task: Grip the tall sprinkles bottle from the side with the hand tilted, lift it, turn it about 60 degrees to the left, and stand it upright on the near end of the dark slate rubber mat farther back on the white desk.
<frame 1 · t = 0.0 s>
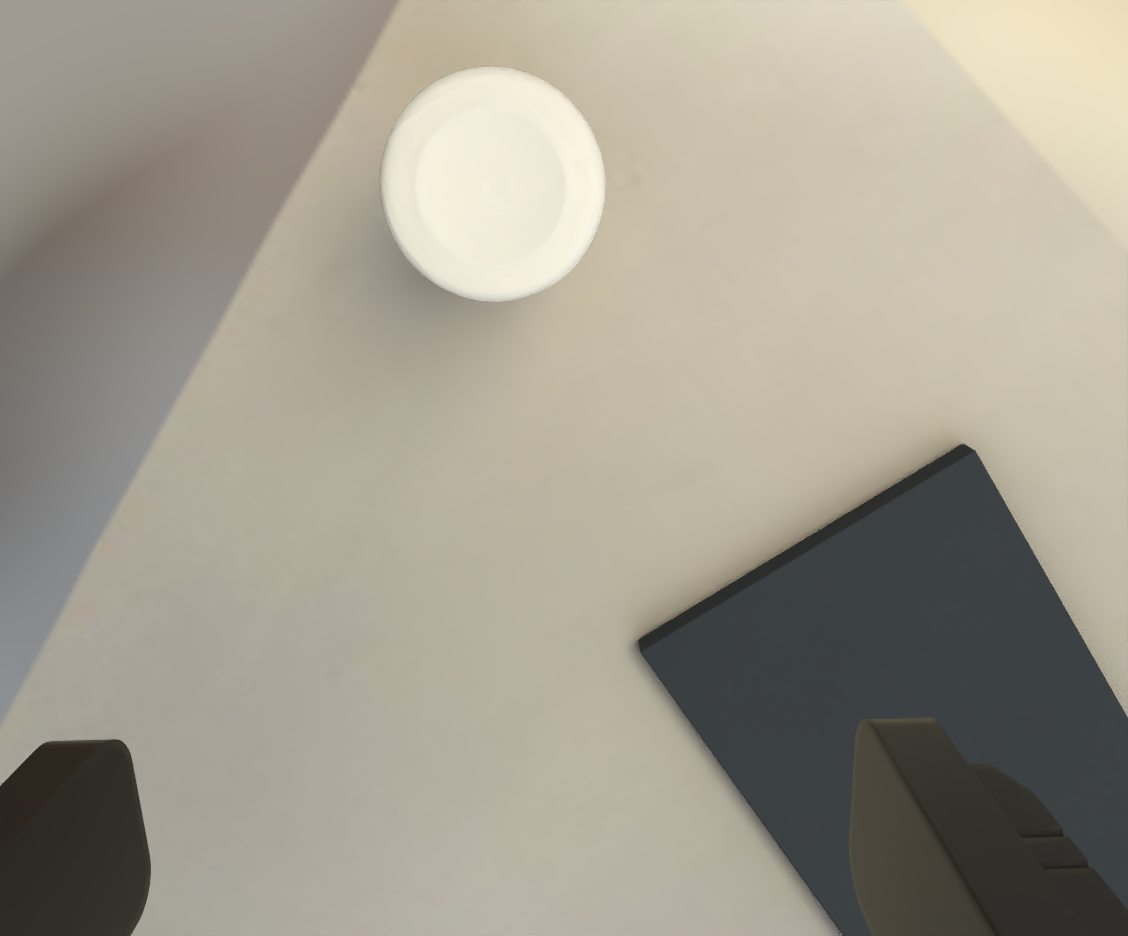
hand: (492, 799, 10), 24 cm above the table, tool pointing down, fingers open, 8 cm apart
sprinkles bottle: (522, 196, 31), on the table
mat: (945, 776, 37), on the table
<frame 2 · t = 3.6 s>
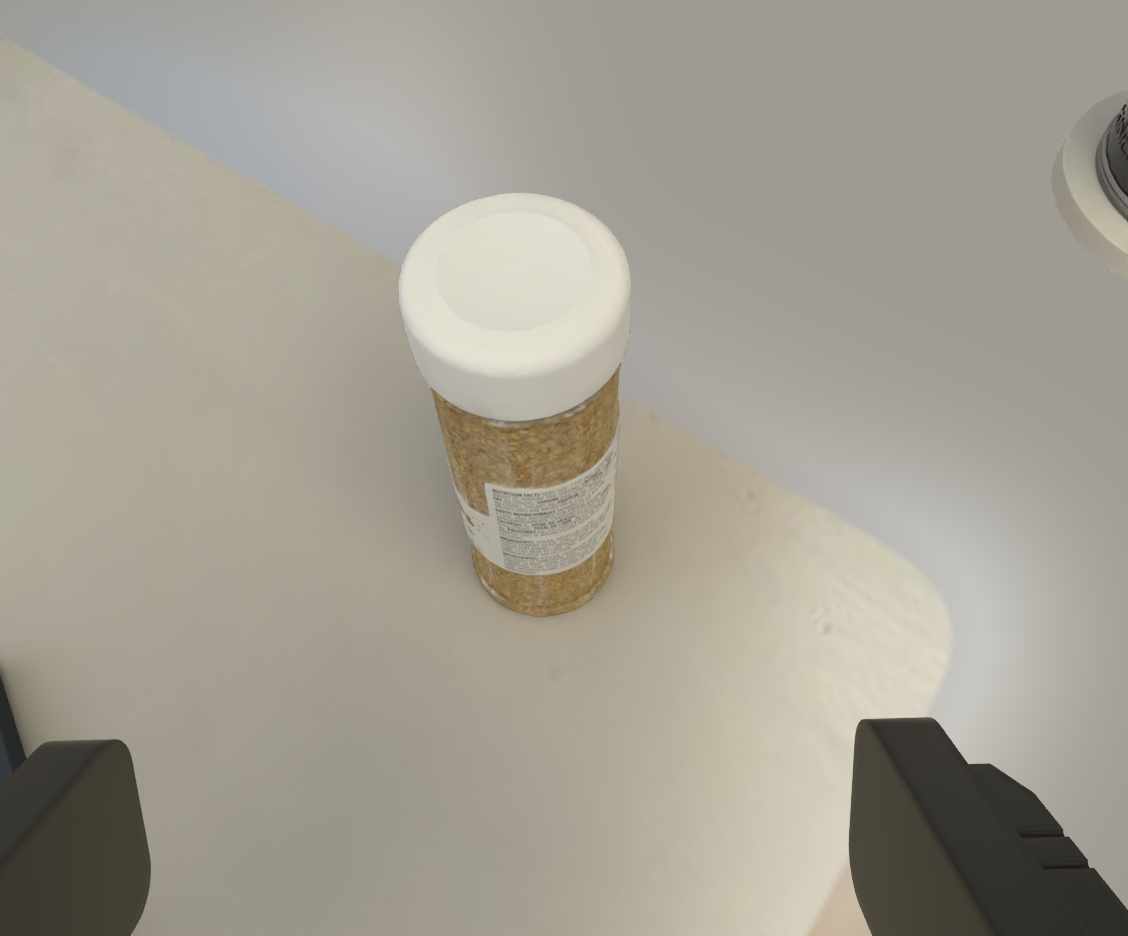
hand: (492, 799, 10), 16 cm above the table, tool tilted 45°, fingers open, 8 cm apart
sprinkles bottle: (545, 557, 29), on the table
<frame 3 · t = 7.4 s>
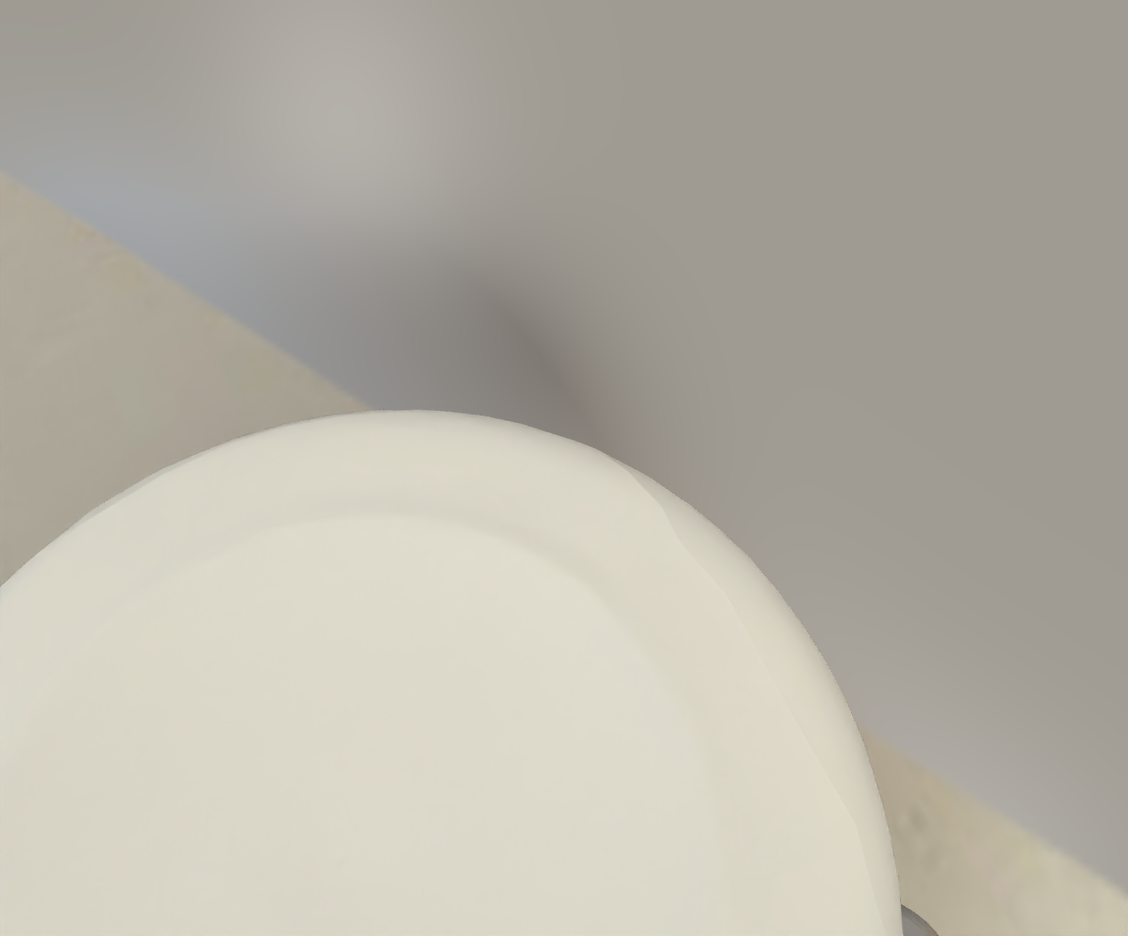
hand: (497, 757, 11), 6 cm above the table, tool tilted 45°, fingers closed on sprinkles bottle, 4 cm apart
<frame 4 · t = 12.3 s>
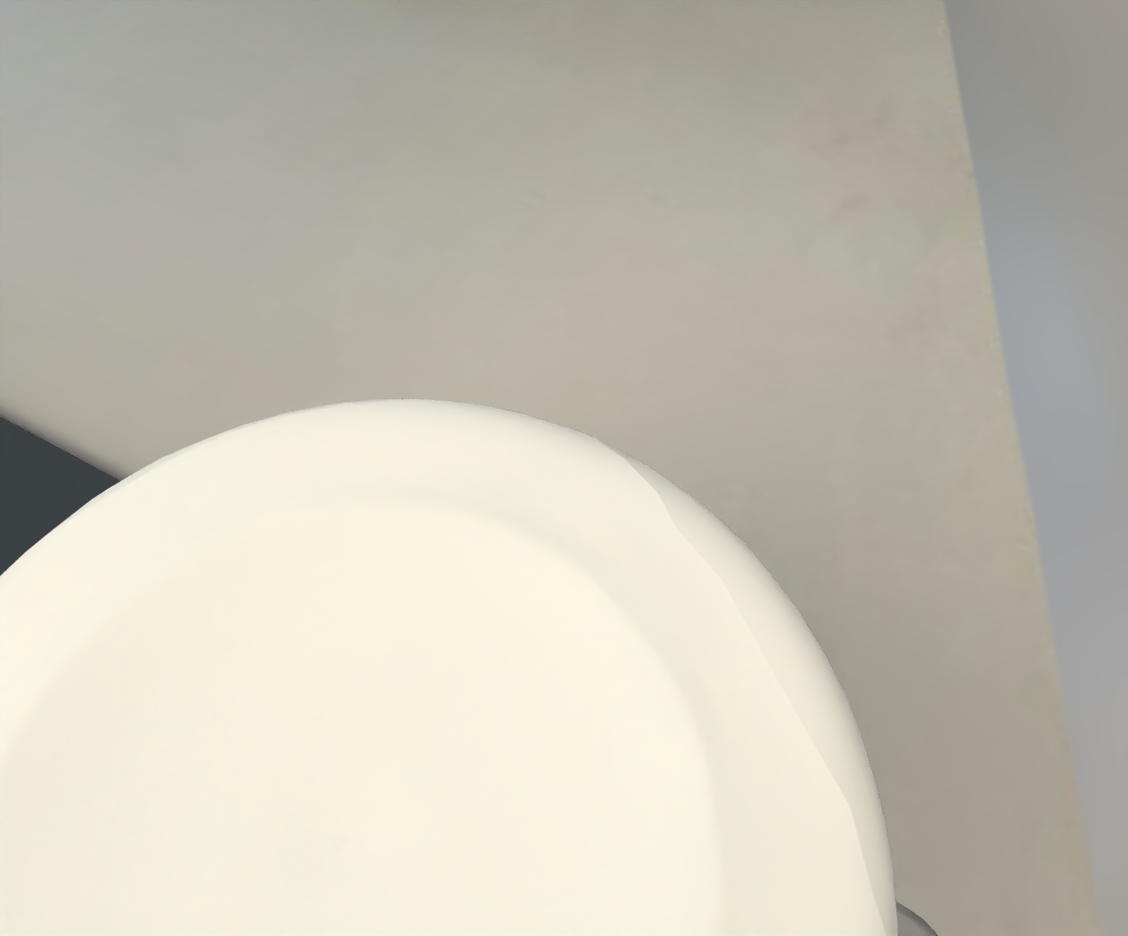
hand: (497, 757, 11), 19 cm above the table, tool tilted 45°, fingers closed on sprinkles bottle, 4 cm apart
mat: (54, 697, 30), on the table
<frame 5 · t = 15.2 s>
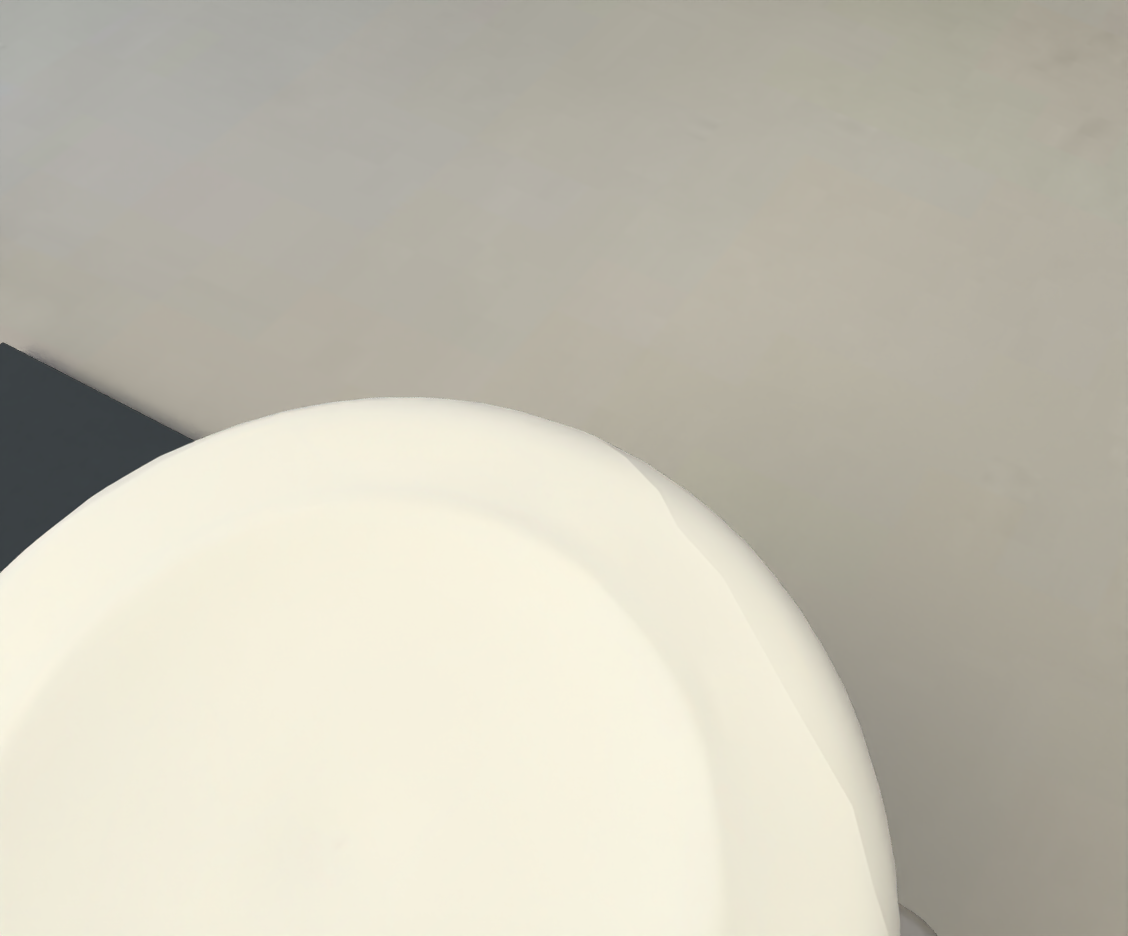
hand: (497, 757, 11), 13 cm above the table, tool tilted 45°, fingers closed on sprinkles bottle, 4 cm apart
mat: (161, 731, 24), on the table
when the fingers open (7 cm above the table, at t = 17.4 s): sprinkles bottle stays where it is, resting on mat.
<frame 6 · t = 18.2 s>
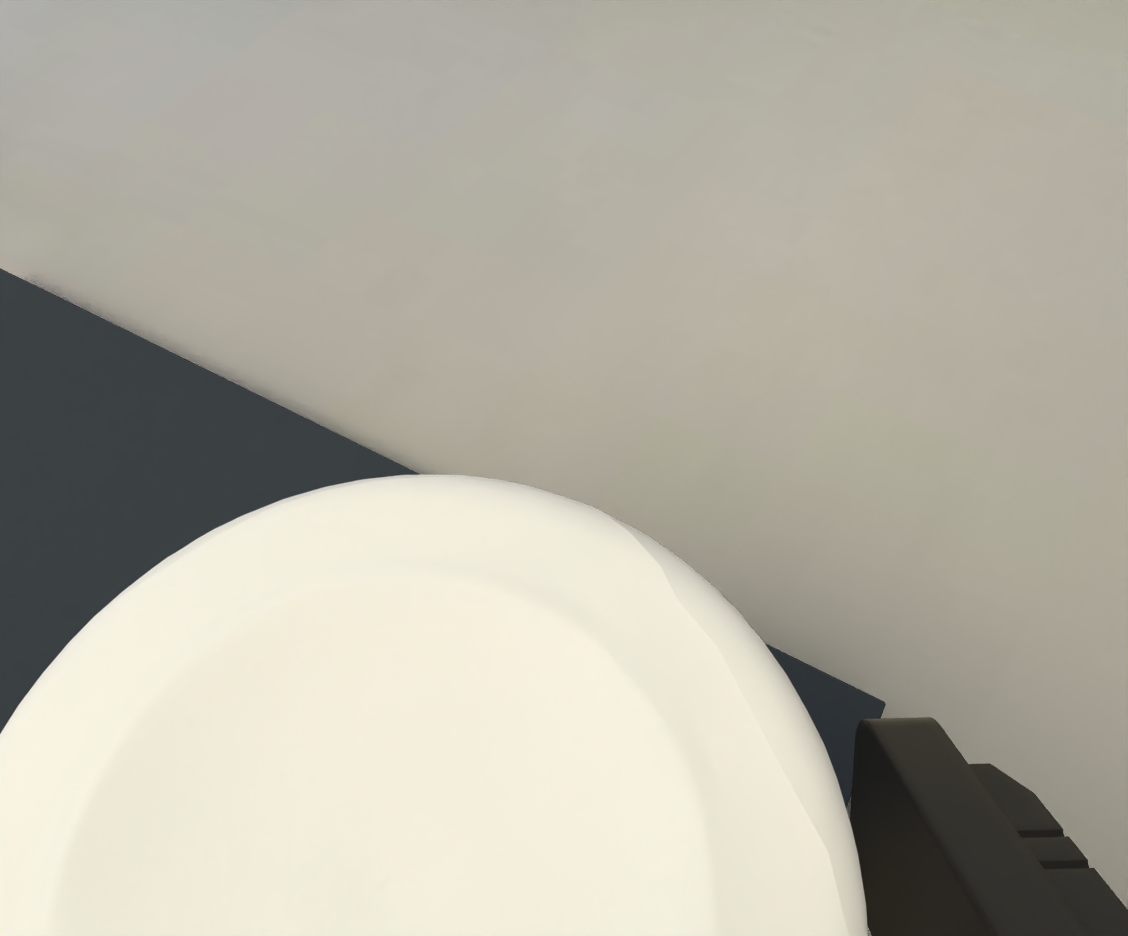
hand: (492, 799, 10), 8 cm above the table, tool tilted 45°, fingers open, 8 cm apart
mat: (193, 737, 19), on the table
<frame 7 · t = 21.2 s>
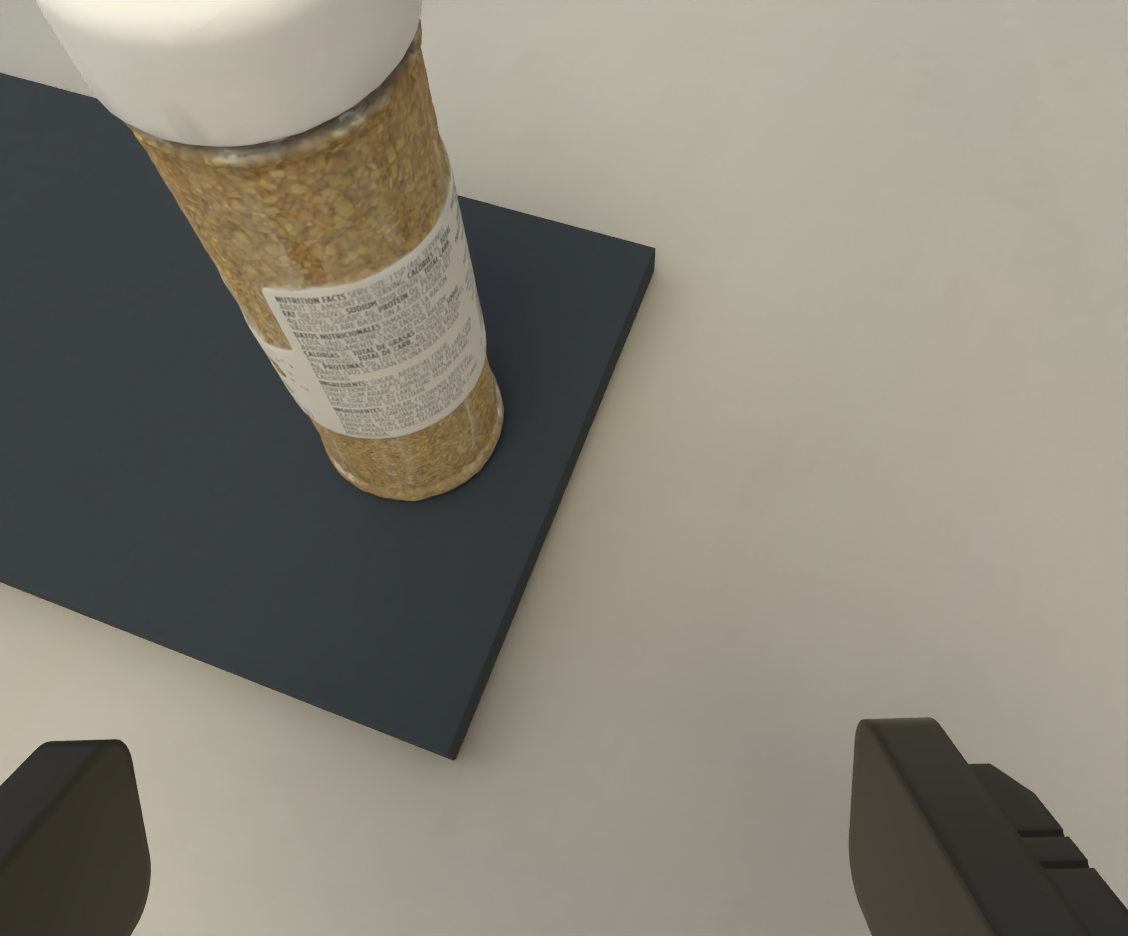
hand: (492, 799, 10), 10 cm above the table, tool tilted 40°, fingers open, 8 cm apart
sprinkles bottle: (418, 428, 23), point 1 cm above the table, touching mat
mat: (156, 353, 25), on the table
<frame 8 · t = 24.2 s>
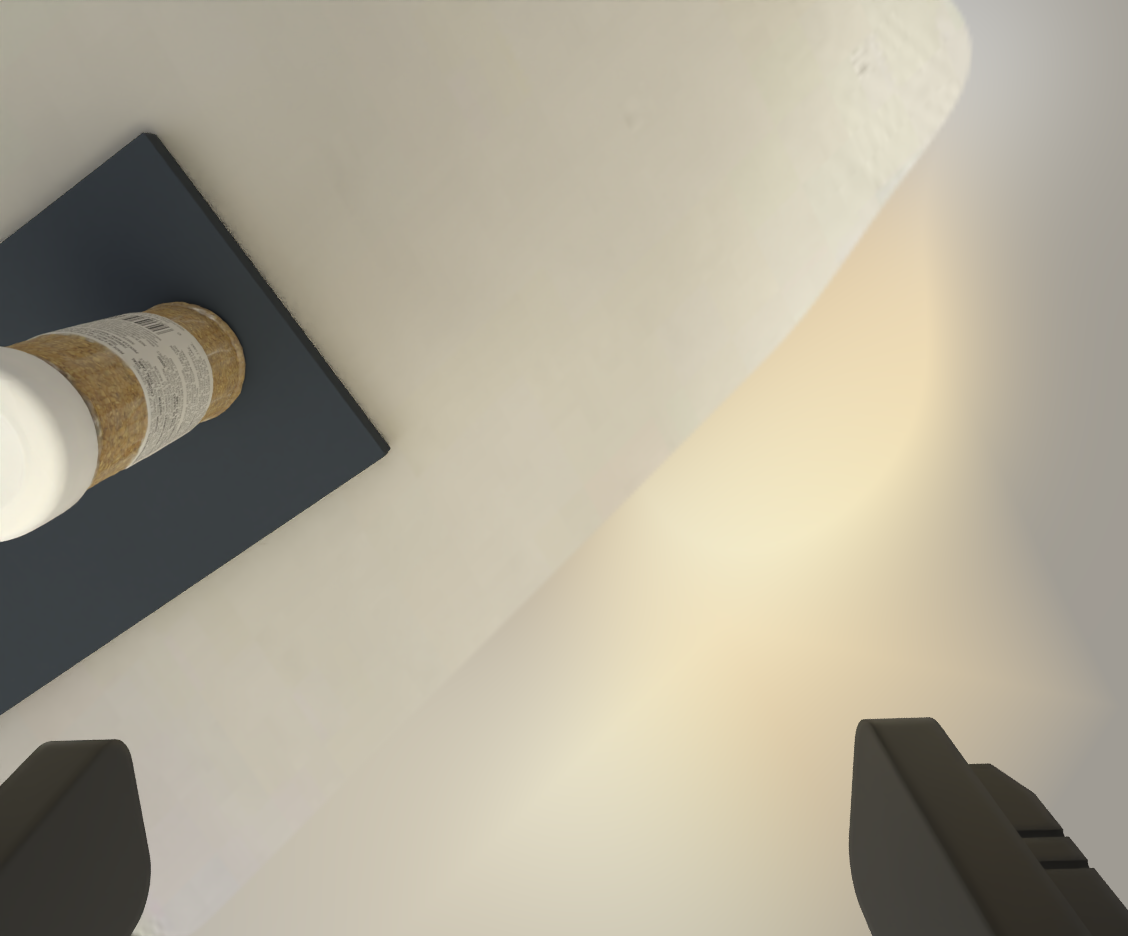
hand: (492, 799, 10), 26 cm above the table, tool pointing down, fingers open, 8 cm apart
sprinkles bottle: (191, 360, 34), point 1 cm above the table, touching mat
mat: (40, 470, 36), on the table
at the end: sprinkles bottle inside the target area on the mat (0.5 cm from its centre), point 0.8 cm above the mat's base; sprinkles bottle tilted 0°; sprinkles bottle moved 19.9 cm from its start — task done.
